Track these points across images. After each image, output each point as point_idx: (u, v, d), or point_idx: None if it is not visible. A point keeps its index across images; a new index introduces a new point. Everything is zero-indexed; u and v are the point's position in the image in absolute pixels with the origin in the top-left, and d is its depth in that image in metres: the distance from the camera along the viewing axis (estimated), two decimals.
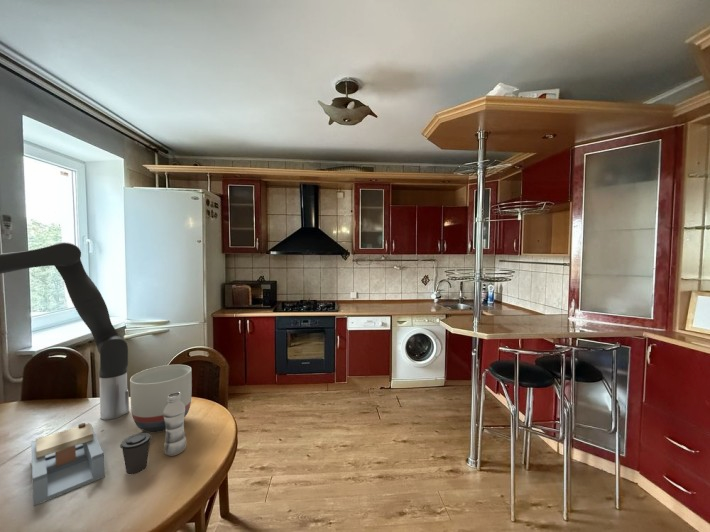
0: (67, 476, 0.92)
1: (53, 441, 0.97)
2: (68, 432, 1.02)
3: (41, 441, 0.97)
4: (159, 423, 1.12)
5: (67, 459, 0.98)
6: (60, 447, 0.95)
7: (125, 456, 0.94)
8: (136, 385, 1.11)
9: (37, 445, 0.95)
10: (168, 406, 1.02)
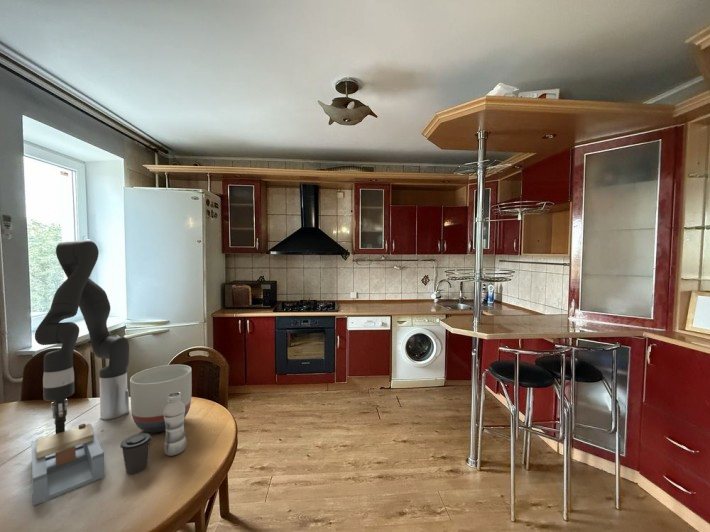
0: (67, 476, 0.92)
1: (53, 442, 0.97)
2: (68, 433, 1.02)
3: (41, 442, 0.96)
4: (159, 423, 1.12)
5: (67, 459, 0.98)
6: (60, 447, 0.95)
7: (125, 456, 0.94)
8: (136, 385, 1.11)
9: (37, 446, 0.94)
10: (168, 406, 1.02)
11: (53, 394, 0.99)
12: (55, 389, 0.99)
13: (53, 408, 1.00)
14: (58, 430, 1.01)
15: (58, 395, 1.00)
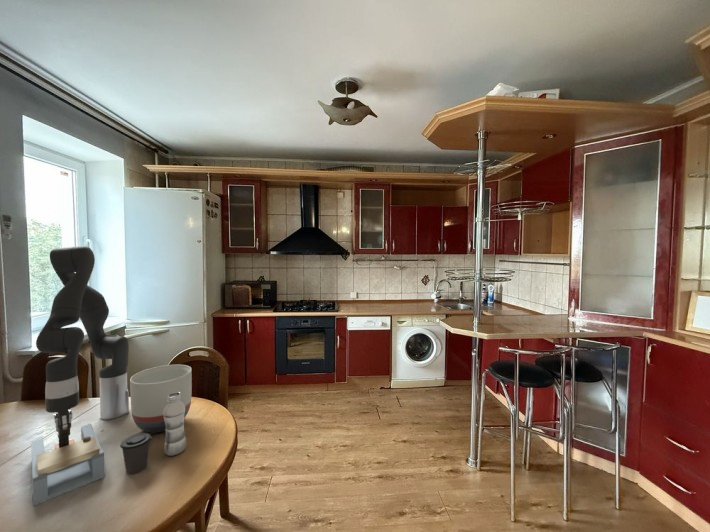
0: (67, 476, 0.92)
1: (56, 457, 0.89)
2: (72, 447, 0.94)
3: (42, 458, 0.89)
4: (159, 423, 1.12)
5: None
6: (63, 464, 0.87)
7: (125, 456, 0.94)
8: (136, 385, 1.11)
9: (38, 462, 0.87)
10: (168, 406, 1.02)
11: (56, 405, 0.92)
12: (58, 400, 0.92)
13: (56, 420, 0.93)
14: (62, 444, 0.94)
15: (62, 406, 0.92)
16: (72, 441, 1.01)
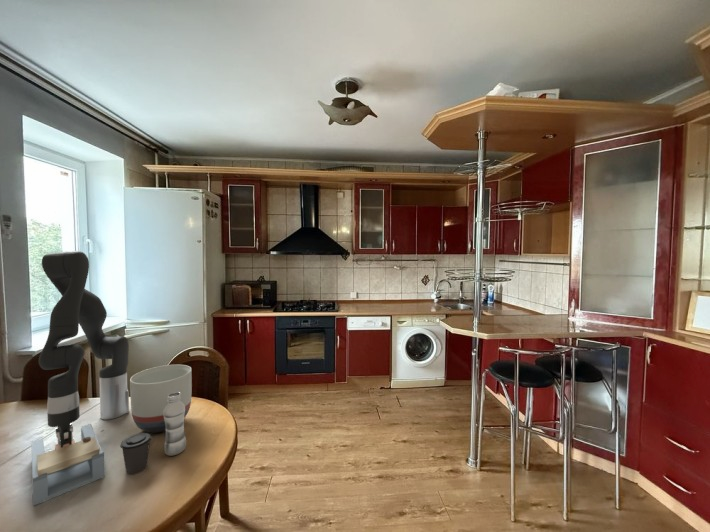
0: (67, 476, 0.92)
1: (56, 458, 0.89)
2: (72, 447, 0.94)
3: (42, 458, 0.89)
4: (159, 423, 1.12)
5: None
6: (63, 464, 0.87)
7: (125, 456, 0.94)
8: (136, 385, 1.11)
9: (38, 462, 0.87)
10: (168, 406, 1.02)
11: (58, 420, 0.96)
12: (60, 415, 0.96)
13: (58, 433, 0.97)
14: None
15: (63, 421, 0.97)
16: (72, 441, 1.01)
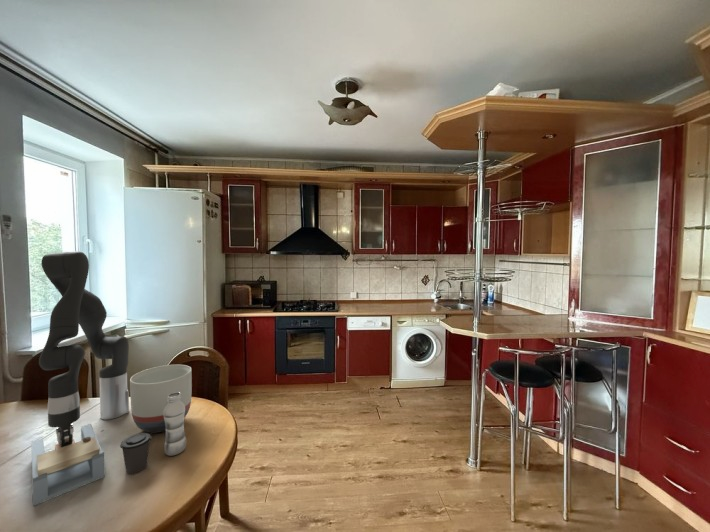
0: (67, 476, 0.92)
1: (56, 458, 0.89)
2: (72, 447, 0.94)
3: (42, 458, 0.89)
4: (159, 423, 1.12)
5: None
6: (63, 464, 0.87)
7: (125, 456, 0.94)
8: (136, 385, 1.11)
9: (38, 462, 0.87)
10: (168, 406, 1.02)
11: (58, 420, 0.96)
12: (60, 415, 0.96)
13: (58, 434, 0.97)
14: None
15: (63, 421, 0.97)
16: None
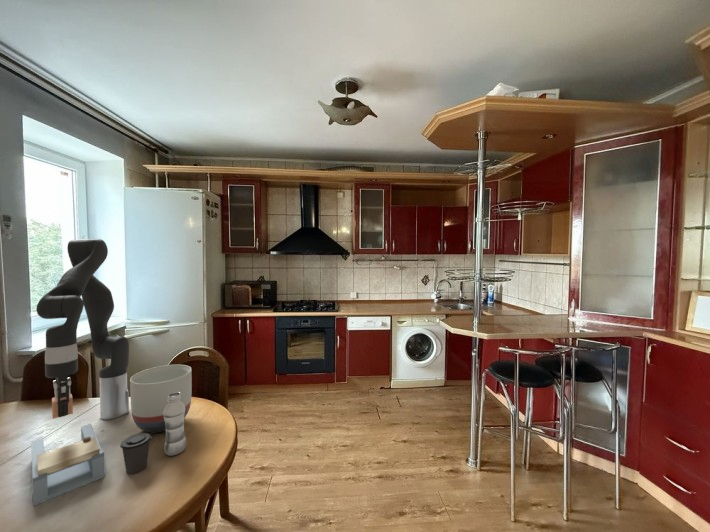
0: (67, 476, 0.92)
1: (56, 458, 0.89)
2: (72, 447, 0.94)
3: (42, 458, 0.89)
4: (159, 423, 1.12)
5: None
6: (63, 464, 0.87)
7: (125, 456, 0.94)
8: (136, 385, 1.11)
9: (38, 462, 0.87)
10: (168, 406, 1.02)
11: (55, 371, 0.93)
12: (57, 365, 0.93)
13: (55, 385, 0.94)
14: (61, 411, 0.94)
15: (61, 372, 0.94)
16: (69, 395, 0.98)
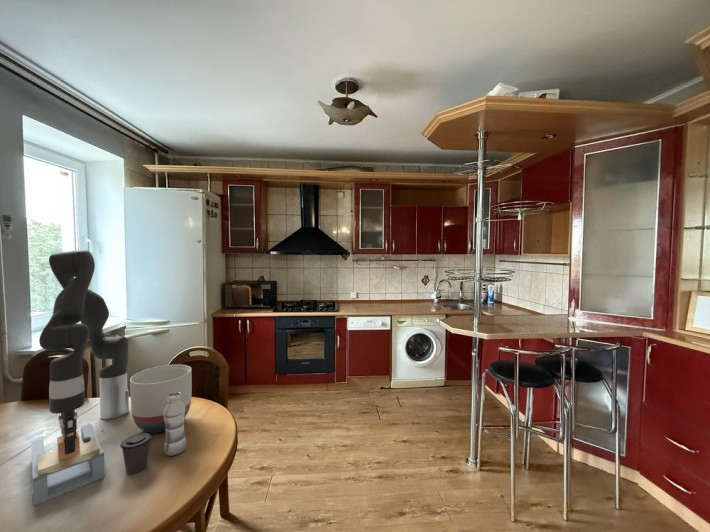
0: (67, 476, 0.92)
1: (56, 458, 0.89)
2: None
3: (42, 458, 0.89)
4: (159, 423, 1.12)
5: (70, 453, 0.89)
6: (63, 464, 0.87)
7: (125, 456, 0.94)
8: (136, 385, 1.11)
9: (38, 462, 0.87)
10: (168, 406, 1.02)
11: (61, 406, 0.87)
12: (63, 400, 0.87)
13: (61, 420, 0.88)
14: (68, 449, 0.87)
15: (67, 407, 0.88)
16: (76, 433, 0.92)
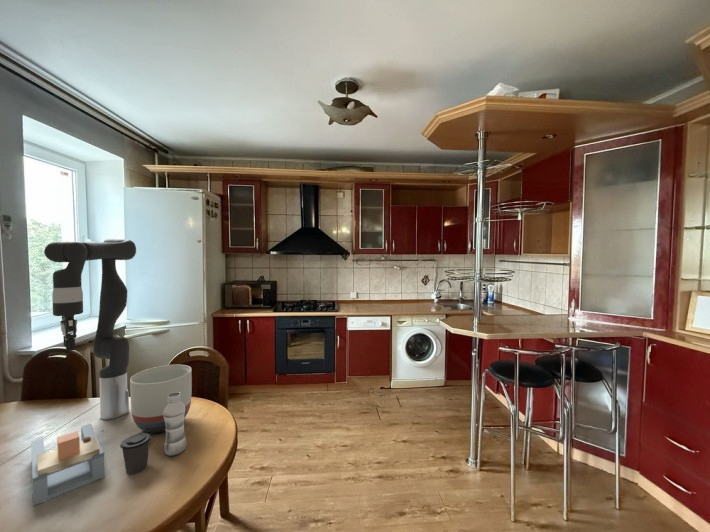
0: (67, 476, 0.92)
1: (56, 458, 0.89)
2: None
3: (42, 458, 0.89)
4: (159, 423, 1.12)
5: (70, 453, 0.89)
6: (63, 464, 0.87)
7: (125, 456, 0.94)
8: (136, 385, 1.11)
9: (38, 462, 0.87)
10: (168, 406, 1.02)
11: (63, 309, 1.00)
12: (64, 304, 1.01)
13: (62, 323, 1.01)
14: (68, 346, 1.00)
15: (67, 311, 1.01)
16: (76, 433, 0.92)
